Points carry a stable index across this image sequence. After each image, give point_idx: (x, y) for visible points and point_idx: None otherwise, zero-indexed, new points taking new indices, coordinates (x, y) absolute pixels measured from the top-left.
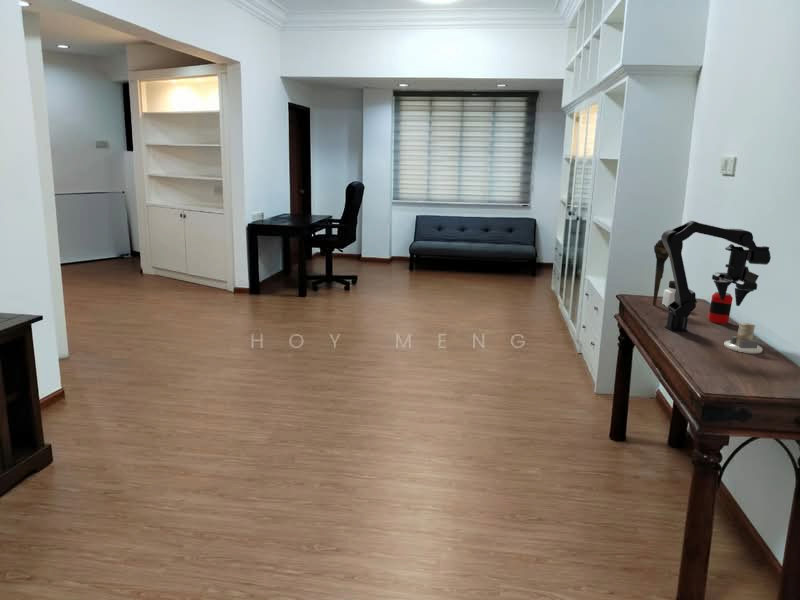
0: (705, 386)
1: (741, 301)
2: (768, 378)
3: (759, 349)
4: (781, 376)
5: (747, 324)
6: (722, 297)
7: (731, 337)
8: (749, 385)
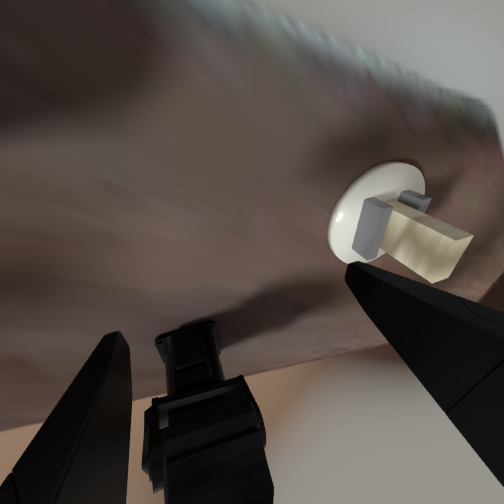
0: None
1: (404, 283)
2: (485, 247)
3: (419, 187)
4: (497, 221)
5: (454, 262)
6: (124, 370)
7: (366, 258)
8: (476, 282)
